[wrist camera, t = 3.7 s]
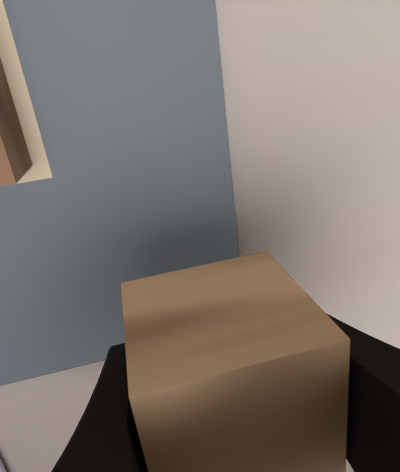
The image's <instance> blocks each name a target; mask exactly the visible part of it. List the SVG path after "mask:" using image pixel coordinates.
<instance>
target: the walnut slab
mask: <svg viewBox="0 0 400 472" xmlns="http://www.w3.org/2000/svg"><path fill="white" fill-rule="evenodd" d="M32 166H33V164H32V161H31V158H30V154H29V151H28V148H27V144H26V141H25V138H24V134H23V131H22V128H21V125H20V121H19V118H18V115H17V111H16V108H15V105H14V101H13V98H12V95H11V91H10V88H9V85H8V81H7V78H6V75H5V71H4V68H3V65H2V61H1V58H0V186H6V185H12V184H16V183H17V182H18V181H19V180H20V179H21V178H22V177H23V176H24V175H25V173H26V172H27V171H28V170H29V169H30V168H31V167H32Z"/></svg>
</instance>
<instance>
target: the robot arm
mask: <svg viewBox="0 0 400 472" xmlns="http://www.w3.org/2000/svg"><path fill="white" fill-rule="evenodd" d="M327 315H328V314H327ZM328 316H329V317H330V318H331V319H332V320H333V321H334V322H335V324H336V325H337V326H338V327H339V328H340V329H341V330H342V331H343V332H344V333H345V334H346V335H347V336H348V337H349V338H350V360H349V388H348V416H347V443H346V459H347V460H348V462H349V463H350V465H351V467H352V468H353V470H354V472H400V349H398V348H396V347H394V346H391V345H389V344H387V343H385V342H383V341H380V340H378V339H376V338H374V337H372V336H369V335H367V334H365V333H363V332H361V331H359V330H357V329H355V328H353V327H351V326H349V325H347V324H345V323H343V322H341V321H340V320H338V319H336V318H334V317H332V316H330V315H328ZM0 472H6V470H5V468H4V465H3V463H2V461H1V459H0ZM51 472H148V469H147V465H146V461H145V457H144V454H143V450H142V446H141V442H140V438H139V435H138V431H137V427H136V423H135V419H134V416H133V412H132V408H131V404H130V400H129V394H128V379H127V365H126V350H125V343H122V344H118V345H114V346H111V347H110V349H109V350H108V353H107V357H106V360H105V363H104V366H103V369H102V372H101V374H100V377H99V379H98V382H97V384H96V387H95V389H94V391H93V394H92V396H91V398H90V401H89V403H88V405H87V407H86V410H85V412H84V414H83V416H82V418H81V420H80V422H79V424H78V426H77V428H76V430H75V432H74V434H73V435H72V437H71V439H70V441H69V443H68V444H67V446H66V448H65V450H64V452H63V453H62V455H61V457H60V458H59V460H58V462H57V463H56V465H55V467H54V468H53V470H52V471H51Z"/></svg>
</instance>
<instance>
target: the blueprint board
mask: <svg viewBox="0 0 400 472" xmlns="http://www.w3.org/2000/svg"><path fill="white" fill-rule="evenodd" d="M0 58H1V61H2V65H3V68H4V71H5V75H6V78H7V81H8V85H9V88H10V91H11V95H12V98H13V101H14V105H15V108H16V111H17V115H18V118H19V121H20V125H21V128H22V131H23V134H24V138H25V141H26V144H27V148H28V151H29V154H30V158H31V161H32V164H33V166H32V167H31V168H30V169H29V170H28V171H27V172H26V173H25V175H24V176H23V177H22V178H21V179H20V180H19V181H18V182H17V183H16V184H12V185H6V186H0V386H1V385H5V384H9V383H13V382H17V381H22V380H26V379H30V378H34V377H38V376H42V375H46V374H50V373H54V372H58V371H62V370H66V369H70V368H74V367H78V366H83V365H87V364H91V363H95V362H99V361H103V360H106V357H107V353H108V350H109V349H110V347H111V346H114V345H118V344H122V343H125V336H124V322H123V307H122V293H121V283H122V282H127V281H132V280H136V279H141V278H145V277H150V276H155V275H159V274H164V273H168V272H173V271H178V270H182V269H187V268H192V267H196V266H201V265H205V264H210V263H215V262H219V261H224V260H228V259H233V258H238V257H239V249H238V238H237V228H236V217H235V206H234V196H233V185H232V175H231V164H230V153H229V143H228V132H227V122H226V111H225V100H224V90H223V79H222V68H221V58H220V47H219V37H218V26H217V15H216V5H215V0H0Z"/></svg>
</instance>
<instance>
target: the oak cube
mask: <svg viewBox="0 0 400 472" xmlns="http://www.w3.org/2000/svg"><path fill="white" fill-rule="evenodd" d="M121 293H122V307H123V322H124V336H125V350H126V365H127V379H128V394H129V400H130V404H131V408H132V412H133V416H134V419H135V423H136V427H137V431H138V435H139V438H140V442H141V446H142V450H143V454H144V457H145V461H146V465H147V469H148V472H345V470H346V443H347V416H348V388H349V360H350V338H349V337H348V336H347V335H346V334H345V333H344V332H343V331H342V330H341V329H340V328H339V327H338V326H337V325H336V324H335V322H334V321H333V320H332V319H331V318H330V317H329V316H328V315H327V314H326V313H325V312H324V311H323V310H322V309H321V308H320V307H319V306H318V305H317V304H316V303H315V302H314V300H313V299H312V298H311V297H310V296H309V295H308V294H307V293H306V292H305V291H304V290H303V289H302V288H301V287H300V286H299V285H298V284H297V283H296V282H295V281H294V279H293V278H292V277H291V276H290V275H289V274H288V273H287V272H286V271H285V270H284V269H283V268H282V267H281V266H280V265H279V264H278V263H277V262H276V261H275V260H274V258H273V257H272V256H271V255H270V254H269V253H268V252H267V251H265V252H261V253H256V254H251V255H247V256H242V257H238V258H233V259H228V260H224V261H219V262H215V263H210V264H205V265H201V266H196V267H192V268H187V269H182V270H178V271H173V272H168V273H164V274H159V275H155V276H150V277H145V278H141V279H136V280H132V281H127V282H122V283H121Z"/></svg>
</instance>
